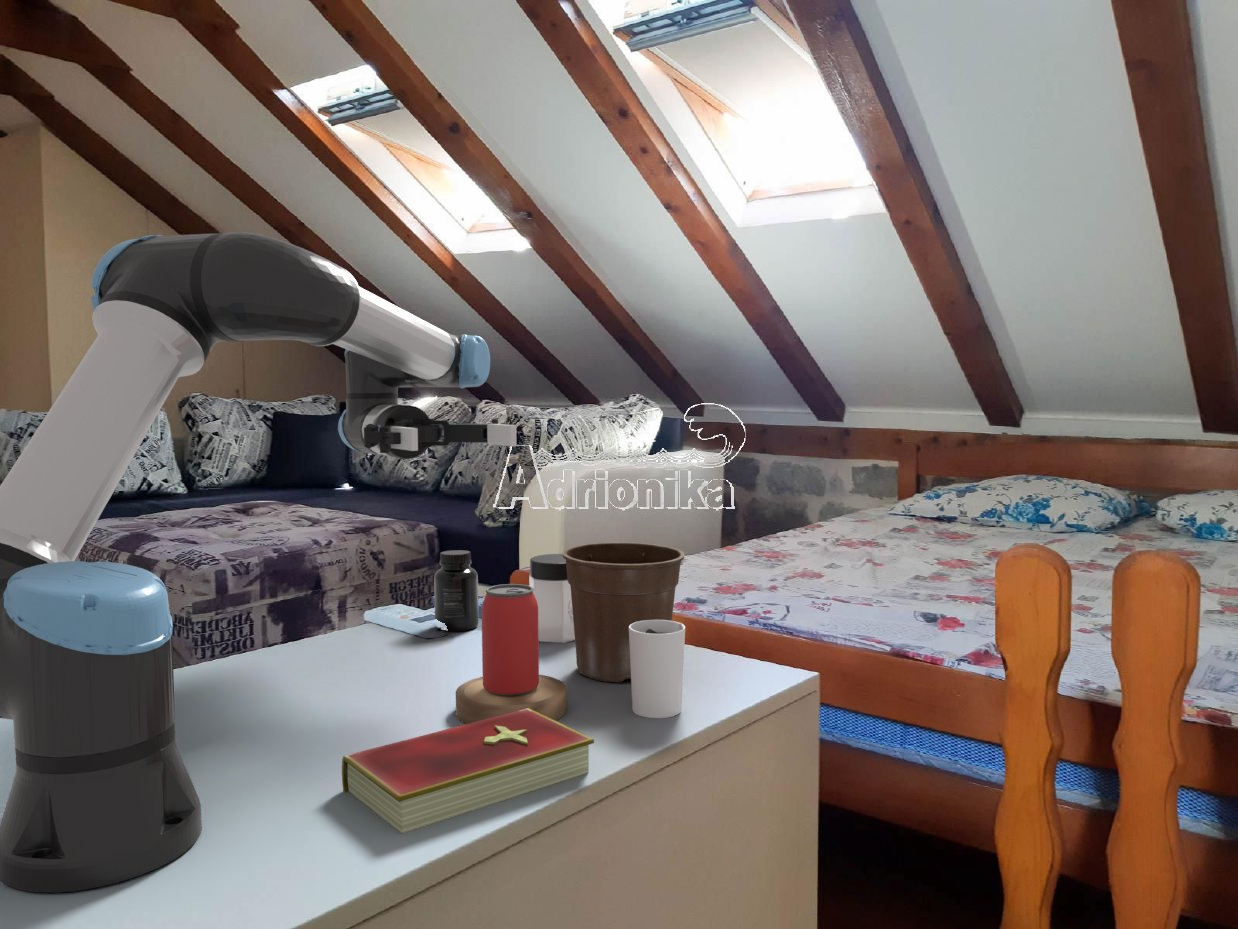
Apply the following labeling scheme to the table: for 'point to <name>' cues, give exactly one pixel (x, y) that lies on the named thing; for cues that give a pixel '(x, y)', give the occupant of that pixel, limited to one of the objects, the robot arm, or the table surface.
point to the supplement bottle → (456, 591)
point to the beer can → (510, 640)
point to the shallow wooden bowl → (510, 700)
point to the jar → (552, 598)
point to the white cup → (656, 667)
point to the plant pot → (617, 600)
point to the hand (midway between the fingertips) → (466, 437)
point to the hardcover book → (464, 768)
